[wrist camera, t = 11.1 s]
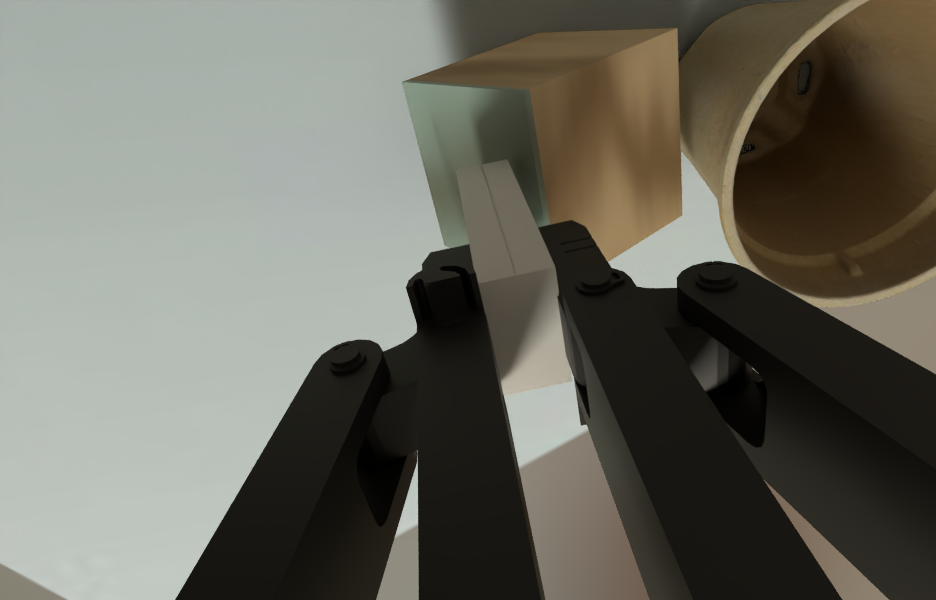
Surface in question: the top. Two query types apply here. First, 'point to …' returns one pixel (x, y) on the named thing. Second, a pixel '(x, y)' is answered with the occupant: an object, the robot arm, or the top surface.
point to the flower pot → (820, 142)
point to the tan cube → (561, 130)
